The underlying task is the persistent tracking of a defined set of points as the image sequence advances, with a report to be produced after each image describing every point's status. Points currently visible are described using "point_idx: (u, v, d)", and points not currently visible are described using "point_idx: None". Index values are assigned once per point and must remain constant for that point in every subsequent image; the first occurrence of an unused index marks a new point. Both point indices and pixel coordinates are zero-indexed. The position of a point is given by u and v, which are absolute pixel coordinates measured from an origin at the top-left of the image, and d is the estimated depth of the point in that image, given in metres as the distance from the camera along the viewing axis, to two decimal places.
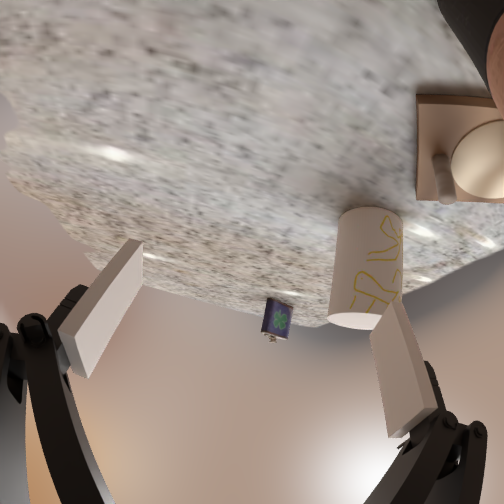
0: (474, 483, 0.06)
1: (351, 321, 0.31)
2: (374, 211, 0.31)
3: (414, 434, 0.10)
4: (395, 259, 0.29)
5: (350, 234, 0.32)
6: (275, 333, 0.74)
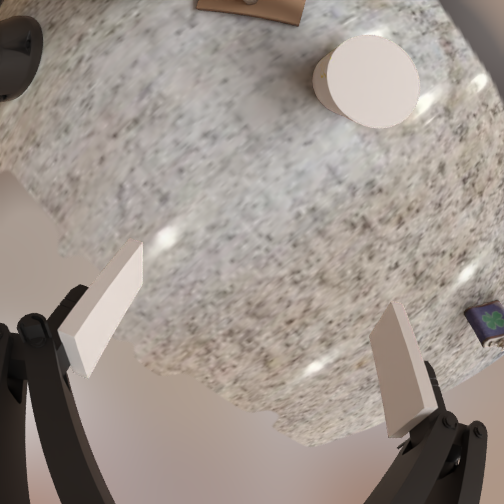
0: (474, 483, 0.06)
1: (372, 95, 0.21)
2: (316, 67, 0.29)
3: (414, 434, 0.10)
4: None
5: (316, 88, 0.28)
6: (499, 334, 0.37)
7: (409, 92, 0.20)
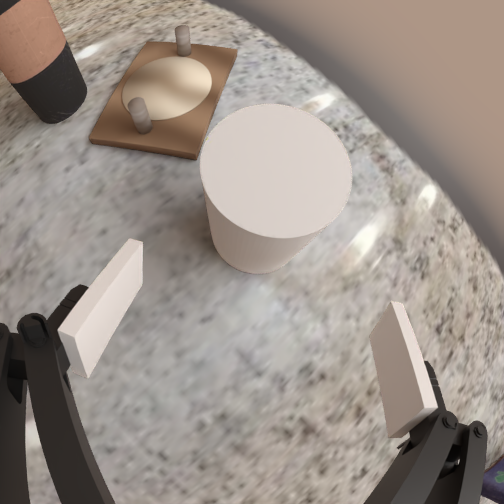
0: (474, 483, 0.06)
1: (274, 185, 0.15)
2: None
3: (414, 434, 0.10)
4: None
5: (210, 229, 0.23)
6: None
7: (335, 173, 0.15)
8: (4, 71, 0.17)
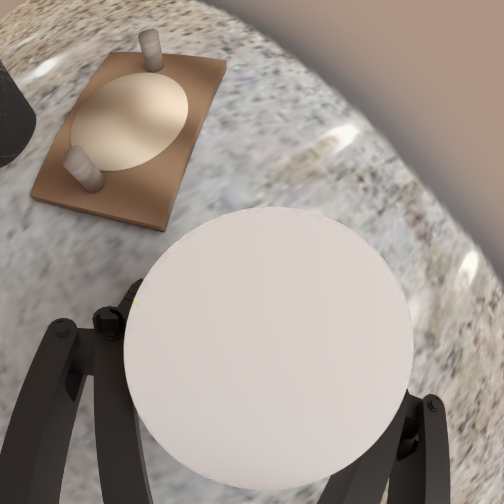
0: (439, 461, 0.07)
1: (268, 408, 0.07)
2: None
3: None
4: None
5: None
6: None
7: (385, 366, 0.08)
8: None
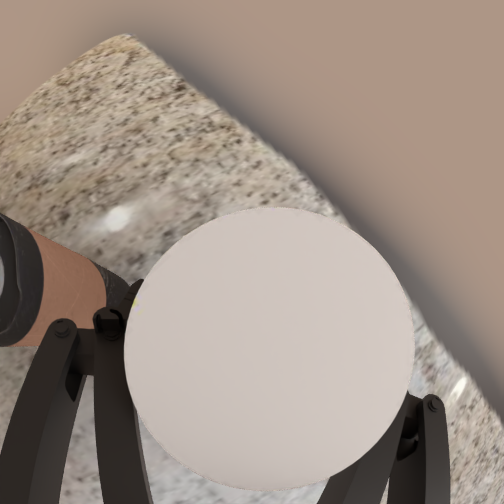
0: (439, 461, 0.07)
1: (269, 409, 0.07)
2: None
3: None
4: None
5: None
6: None
7: (386, 366, 0.07)
8: None
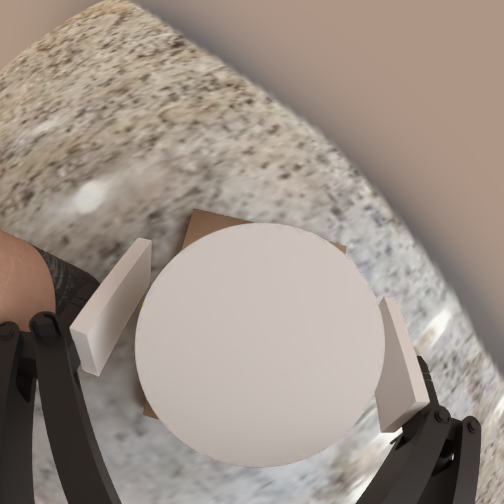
0: (469, 479, 0.06)
1: (257, 393, 0.09)
2: None
3: (406, 429, 0.10)
4: None
5: None
6: None
7: (359, 359, 0.09)
8: None
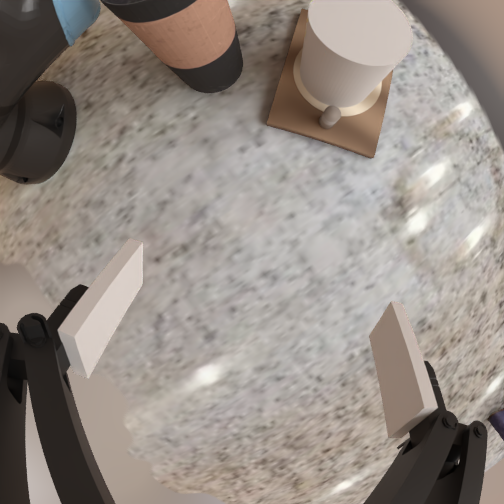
0: (474, 483, 0.06)
1: (360, 33, 0.16)
2: None
3: (414, 434, 0.10)
4: None
5: (303, 67, 0.25)
6: None
7: (401, 33, 0.16)
8: (165, 58, 0.20)
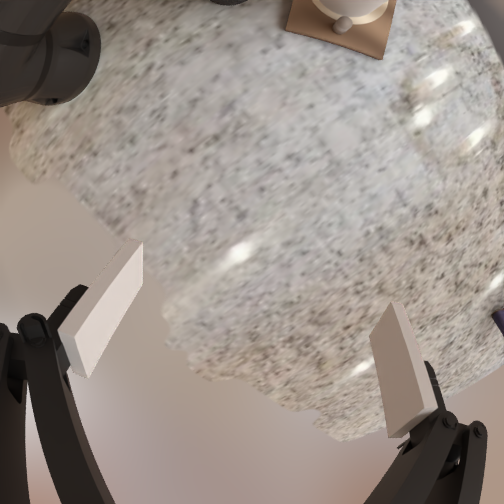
0: (474, 483, 0.06)
1: None
2: None
3: (414, 434, 0.10)
4: None
5: None
6: None
7: None
8: None
